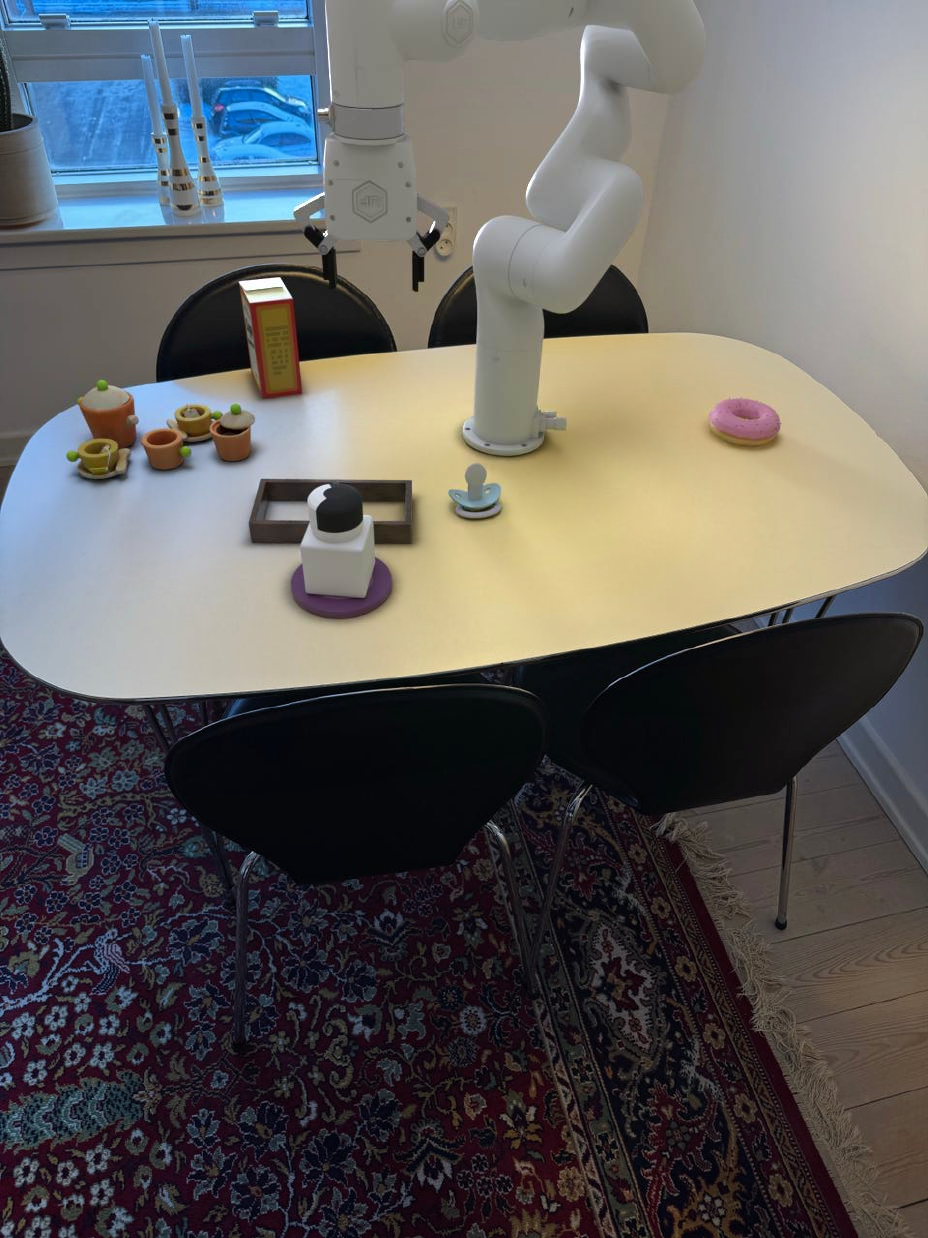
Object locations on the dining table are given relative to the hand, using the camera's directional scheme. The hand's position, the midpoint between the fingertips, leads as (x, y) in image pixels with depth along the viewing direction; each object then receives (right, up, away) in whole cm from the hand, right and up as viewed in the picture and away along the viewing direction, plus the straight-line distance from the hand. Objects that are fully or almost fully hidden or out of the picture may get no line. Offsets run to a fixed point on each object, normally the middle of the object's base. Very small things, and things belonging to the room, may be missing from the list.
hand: (374, 286), depth 100 cm
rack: (-7, -26, +13) cm, 30 cm away
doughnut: (+54, -10, +35) cm, 65 cm away
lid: (-4, -35, +2) cm, 35 cm away
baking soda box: (-21, 0, +43) cm, 48 cm away
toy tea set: (-33, -14, +25) cm, 44 cm away
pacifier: (+12, -24, +16) cm, 32 cm away
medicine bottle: (-4, -34, +2) cm, 35 cm away
